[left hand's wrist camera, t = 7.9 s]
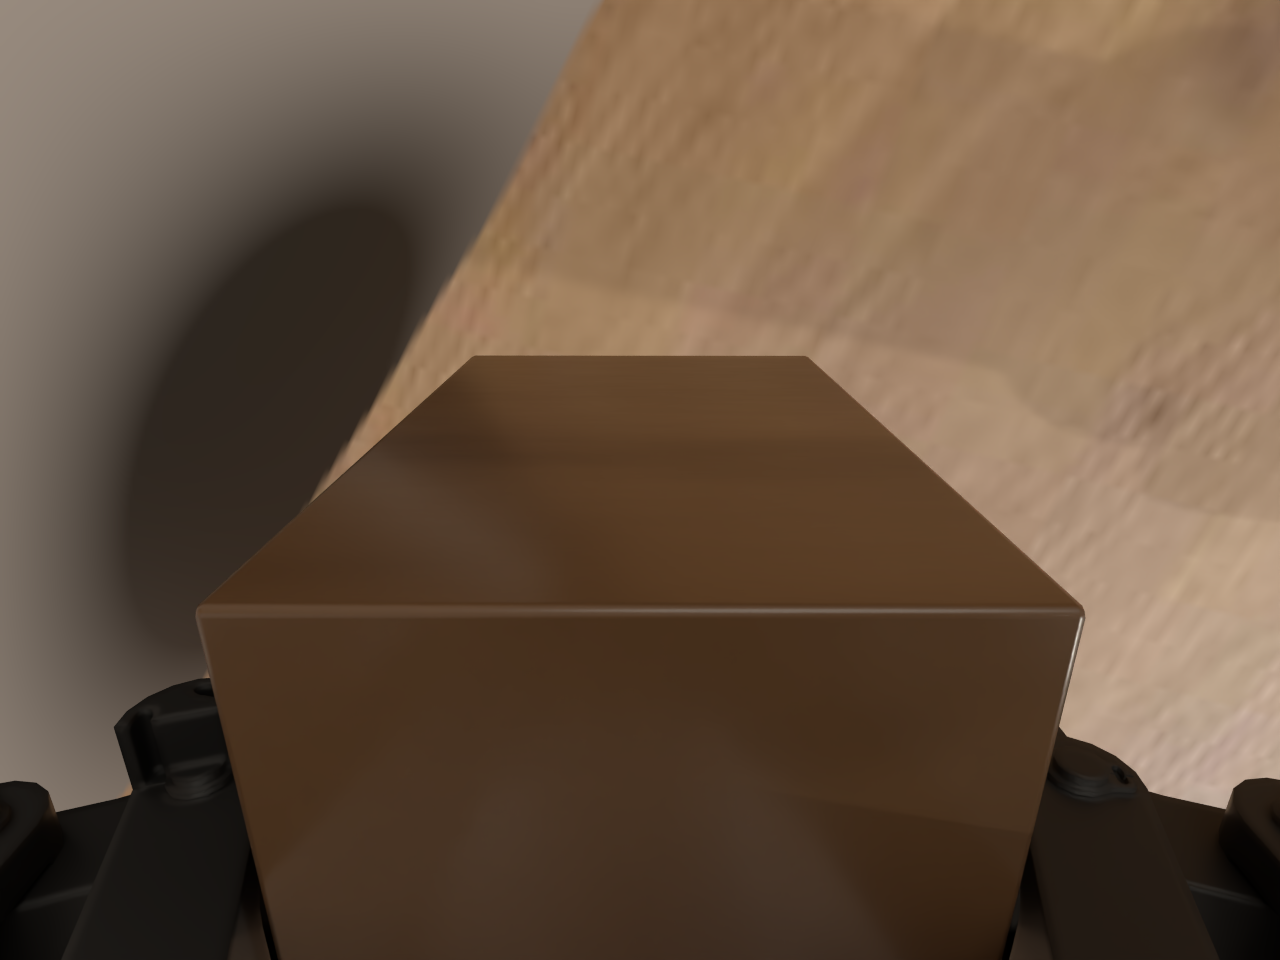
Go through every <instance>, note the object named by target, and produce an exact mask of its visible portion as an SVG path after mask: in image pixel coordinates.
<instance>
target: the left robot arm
mask: <svg viewBox="0 0 1280 960" xmlns="http://www.w3.org/2000/svg"><path fill="white" fill-rule="evenodd" d="M114 730H115V733H116V736H117V739H118V743H119V746H120V749H121V752H122V756H123V759H124V762H125V765H126V769H127V772H128V775H129V779H130V782H131V785H132V788H133V791H132V793H131V795H129V796H125V797H122V798H118V799H114V800H109V801H105V802H100V803H96V804H91V805H87V806H82V807H78V808H74V809H69V810H64V811H60V812H55V809H54V806H53V803H52V800H51V798H50V795H49V792H48V791H47V790H46V789H44V788H43V787H41V786H40V785H39V784H37V783H33V782H23V781H11V782H6V783H0V960H278V958H277V954H276V949H275V945H274V941H273V937H272V933H271V929H270V925H269V920H268V916H267V912H266V908H265V904H264V900H263V896H262V891H261V887H260V883H259V879H258V875H257V871H256V867H255V862H254V858H253V854H252V850H251V846H250V842H249V838H248V833H247V829H246V825H245V821H244V817H243V813H242V809H241V804H240V800H239V796H238V792H237V788H236V784H235V780H234V775H233V771H232V767H231V763H230V759H229V755H228V751H227V746H226V742H225V738H224V734H223V730H222V726H221V722H220V717H219V713H218V709H217V705H216V701H215V697H214V693H213V688H212V684H211V680H210V678H204V679H196V680H193V681H189V682H185V683H181V684H177V685H173V686H171V687H169V688H166V689H164V690H162V691H160V692H158V693H155V694H153V695H151V696H148V697H147V698H145V699H144V700H142V701H141V702H139V703H138V704H137V705H135V706H134V707H132V708H131V709H129V710H128V711H127V712H126V713H125V714H124V715H123V717H122V718H121V719H120V720H119V721H118V723H117V724H116V725H115V726H114ZM1002 960H1280V780H1277V779H1271V778H1259V779H1248V780H1244V781H1243V782H1242V783H1240V784H1239V785H1237V786H1236V787H1235V788H1233V791H1232V794H1231V797H1230V800H1229V802H1228V805H1227V808H1226V809H1222V808H1217V807H1212V806H1208V805H1203V804H1199V803H1194V802H1190V801H1185V800H1181V799H1176V798H1172V797H1167V796H1163V795H1159V794H1156V793H1152V792H1149V791H1148V789H1147V788H1146V786H1145V785H1144V783H1143V782H1142V781H1141V779H1140V778H1139V776H1138V775H1137V773H1136V772H1135V771H1134V770H1132V769H1131V768H1130V767H1129V766H1127V765H1126V764H1125V763H1124V762H1122V761H1121V760H1120V759H1119V758H1117V757H1116V756H1114V755H1112V754H1111V753H1109V752H1107V751H1105V750H1103V749H1101V748H1099V747H1097V746H1095V745H1093V744H1090V743H1087V742H1083V741H1080V740H1077V739H1073V738H1070V737H1067V736H1066V735H1065V734H1064V732H1063V731H1062V730H1061V729H1060V727H1059V728H1058V732H1057V736H1056V740H1055V744H1054V748H1053V752H1052V757H1051V761H1050V765H1049V769H1048V773H1047V777H1046V781H1045V785H1044V789H1043V793H1042V797H1041V802H1040V806H1039V810H1038V814H1037V818H1036V822H1035V826H1034V830H1033V834H1032V838H1031V842H1030V847H1029V851H1028V855H1027V859H1026V863H1025V867H1024V871H1023V875H1022V879H1021V883H1020V888H1019V892H1018V896H1017V900H1016V904H1015V908H1014V912H1013V916H1012V920H1011V924H1010V928H1009V933H1008V937H1007V941H1006V945H1005V949H1004V953H1003V957H1002Z"/></svg>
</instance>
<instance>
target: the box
mask: <svg viewBox="0 0 1280 960" xmlns="http://www.w3.org/2000/svg"><path fill="white" fill-rule="evenodd" d="M195 618H196V622H197V626H198V630H199V635H200V638H201V643H202V647H203V651H204V655H205V659H206V664H207V668H208V672H209V676H210V680H211V684H212V688H213V693H214V697H215V701H216V705H217V709H218V713H219V717H220V722H221V726H222V730H223V734H224V738H225V742H226V746H227V751H228V755H229V759H230V763H231V767H232V771H233V775H234V780H235V784H236V788H237V792H238V796H239V800H240V804H241V809H242V813H243V817H244V821H245V825H246V829H247V833H248V838H249V842H250V846H251V850H252V854H253V858H254V862H255V867H256V871H257V875H258V879H259V883H260V887H261V891H262V896H263V900H264V904H265V908H266V912H267V916H268V920H269V925H270V929H271V933H272V937H273V941H274V945H275V949H276V954H277V958H278V960H1002V957H1003V953H1004V949H1005V945H1006V941H1007V937H1008V933H1009V928H1010V924H1011V920H1012V916H1013V912H1014V908H1015V904H1016V900H1017V896H1018V892H1019V888H1020V883H1021V879H1022V875H1023V871H1024V867H1025V863H1026V859H1027V855H1028V851H1029V847H1030V842H1031V838H1032V834H1033V830H1034V826H1035V822H1036V818H1037V814H1038V810H1039V806H1040V802H1041V797H1042V793H1043V789H1044V785H1045V781H1046V777H1047V773H1048V769H1049V765H1050V761H1051V757H1052V752H1053V748H1054V744H1055V740H1056V736H1057V732H1058V728H1059V724H1060V720H1061V716H1062V712H1063V707H1064V703H1065V699H1066V695H1067V691H1068V687H1069V683H1070V679H1071V675H1072V671H1073V666H1074V662H1075V658H1076V654H1077V650H1078V646H1079V642H1080V638H1081V634H1082V630H1083V626H1084V621H1085V612H1084V609H1083V607H1082V605H1081V604H1080V603H1079V602H1077V601H1076V600H1075V599H1074V598H1073V597H1072V596H1071V595H1070V594H1069V593H1068V592H1066V591H1065V590H1064V589H1063V588H1062V587H1061V586H1060V585H1059V584H1058V583H1057V582H1055V581H1054V580H1053V579H1052V578H1051V577H1050V576H1049V575H1048V574H1047V573H1045V572H1044V571H1043V570H1042V569H1041V568H1040V567H1039V566H1038V565H1037V564H1036V563H1034V562H1033V561H1032V560H1031V559H1030V558H1029V557H1028V556H1027V555H1026V554H1025V553H1023V552H1022V551H1021V550H1020V549H1019V548H1018V547H1017V546H1016V545H1015V544H1013V543H1012V542H1011V541H1010V540H1009V539H1008V538H1007V537H1006V536H1005V535H1004V534H1002V533H1001V532H1000V531H999V530H998V529H997V528H996V527H995V526H994V525H993V524H991V523H990V522H989V521H988V520H987V519H986V518H985V517H984V516H983V515H981V514H980V513H979V512H978V511H977V510H976V509H975V508H974V507H973V506H972V505H970V504H969V503H968V502H967V501H966V500H965V499H964V498H963V497H962V496H961V495H959V494H958V493H957V492H956V491H955V490H954V489H953V488H952V487H951V486H949V485H948V484H947V483H946V482H945V481H944V480H943V479H942V478H941V477H940V476H938V475H937V474H936V473H935V472H934V471H933V470H932V469H931V468H930V467H929V466H927V465H926V464H925V463H924V462H923V461H922V460H921V459H920V458H919V457H918V456H916V455H915V454H914V453H913V452H912V451H911V450H910V449H909V448H908V447H906V446H905V445H904V444H903V443H902V442H901V441H900V440H899V439H898V438H897V437H895V436H894V435H893V434H892V433H891V432H890V431H889V430H888V429H887V428H886V427H884V426H883V425H882V424H881V423H880V422H879V421H878V420H877V419H876V418H874V417H873V416H872V415H871V414H870V413H869V412H868V411H867V410H866V409H865V408H863V407H862V406H861V405H860V404H859V403H858V402H857V401H856V400H855V399H854V398H852V397H851V396H850V395H849V394H848V393H847V392H846V391H845V390H844V389H842V388H841V387H840V386H839V385H838V384H837V383H836V382H835V381H834V380H833V379H831V378H830V377H829V376H828V375H827V374H826V373H825V372H824V371H823V370H822V369H820V368H819V367H818V366H817V365H816V364H815V363H814V362H813V361H812V360H811V359H809V358H808V357H806V356H474V357H472V358H471V359H470V360H468V361H467V362H466V363H465V364H464V365H463V366H462V367H461V368H460V369H458V370H457V371H456V372H455V373H454V374H453V375H452V376H451V377H450V378H449V379H447V380H446V381H445V382H444V383H443V384H442V385H441V386H440V387H439V388H437V389H436V390H435V391H434V392H433V393H432V394H431V395H430V396H429V397H428V398H426V399H425V400H424V401H423V402H422V403H421V404H420V405H419V406H418V407H417V408H415V409H414V410H413V411H412V412H411V413H410V414H409V415H408V416H407V417H405V418H404V419H403V420H402V421H401V422H400V423H399V424H398V425H397V426H396V427H394V428H393V429H392V430H391V431H390V432H389V433H388V434H387V435H386V436H384V437H383V438H382V439H381V440H380V441H379V442H378V443H377V444H376V445H375V446H373V447H372V448H371V449H370V450H369V451H368V452H367V453H366V454H365V455H363V456H362V457H361V458H360V459H359V460H358V461H357V462H356V463H355V464H354V465H352V466H351V467H350V468H349V469H348V470H347V471H346V472H345V473H344V474H342V475H341V476H340V477H339V478H338V479H337V480H336V481H335V482H334V483H333V484H331V485H330V486H329V487H328V488H327V489H326V490H325V491H324V492H323V493H322V494H320V495H319V496H318V497H317V498H316V499H315V500H314V501H313V502H312V503H310V504H309V505H308V506H307V507H306V508H305V509H304V510H303V511H302V512H301V513H299V514H298V515H297V516H296V517H295V518H294V519H293V520H292V521H291V522H289V523H288V524H287V525H286V526H285V527H284V528H283V529H282V530H281V531H280V532H278V533H277V534H276V535H275V536H274V537H273V538H272V539H271V540H270V541H268V542H267V543H266V544H265V545H264V546H263V547H262V548H261V549H260V550H259V551H257V552H256V553H255V554H254V555H253V556H252V557H251V558H250V559H249V560H247V561H246V562H245V563H244V564H243V565H242V566H241V567H240V568H239V569H238V570H237V571H235V572H234V573H233V574H232V575H231V576H230V577H229V578H228V579H227V580H225V581H224V582H223V583H222V584H221V585H220V586H219V587H218V588H217V589H215V590H214V591H213V592H212V593H211V594H210V595H209V596H208V597H207V598H206V599H204V600H203V601H202V602H201V603H200V604H199V605H198V607H197V610H196V616H195Z"/></svg>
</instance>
